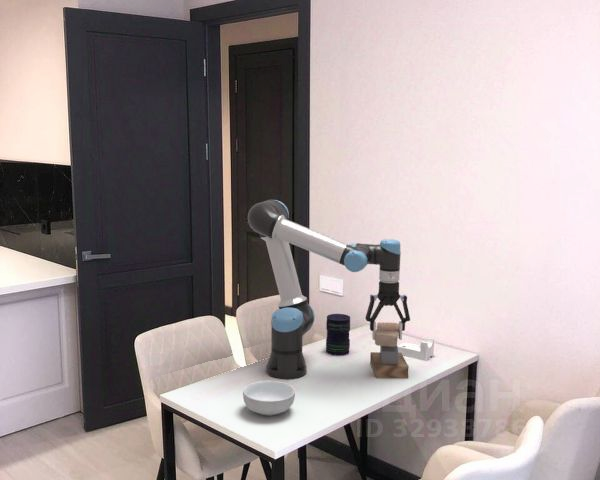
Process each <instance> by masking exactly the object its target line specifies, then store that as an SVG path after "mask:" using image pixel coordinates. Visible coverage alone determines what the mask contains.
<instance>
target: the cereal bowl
mask: <svg viewBox="0 0 600 480" xmlns="http://www.w3.org/2000/svg"><path fill="white" fill-rule="evenodd" d="M242 397H243V398H242V399H243V402H244V404H245V406H246V407H247V408H248V410H250V411H252V412H254V413H256V414H259V415H262V416H266V417H267V416H269V417H270V416H275V415H276V416H277V415H279V414H281V413H284V412H286V411H287V410H289V409H290V408H291V407H292V406H293V404H294V402H295V398H296V389H295V388H294V387H293V386H292V385H291V384H289V383H286V382H284V381H280V380H261V381H260V380H259V381H255V382H252V383H249V384H247V385H246V386H244V388H243V391H242Z"/></svg>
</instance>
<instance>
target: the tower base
mask: <svg viewBox="0 0 600 480" xmlns="http://www.w3.org/2000/svg"><path fill="white" fill-rule="evenodd" d="M369 358H370V361H369V363H370V366H371V369H372V372H373V374H374V377H376V378H375V379H409V365H408V363H407V361H406V359H405V356H403V355H402V353H401V352H398V365H390V364H382V363H381V355H380V351H379V352H377V351H375V352H370V357H369Z"/></svg>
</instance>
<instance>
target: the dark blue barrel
mask: <svg viewBox="0 0 600 480" xmlns="http://www.w3.org/2000/svg"><path fill="white" fill-rule="evenodd" d="M325 324H326V327H325V328H326V339H325V349H326V350H325V353H326V354H328V355H330V356H333V357H335V356H338V357H342V356H347V355H349V354H350V347H351V344H350V341H351V339H350V331H351V316H350V315H348V314H343V313H332V314H328V315H327V316H326V323H325Z"/></svg>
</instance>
